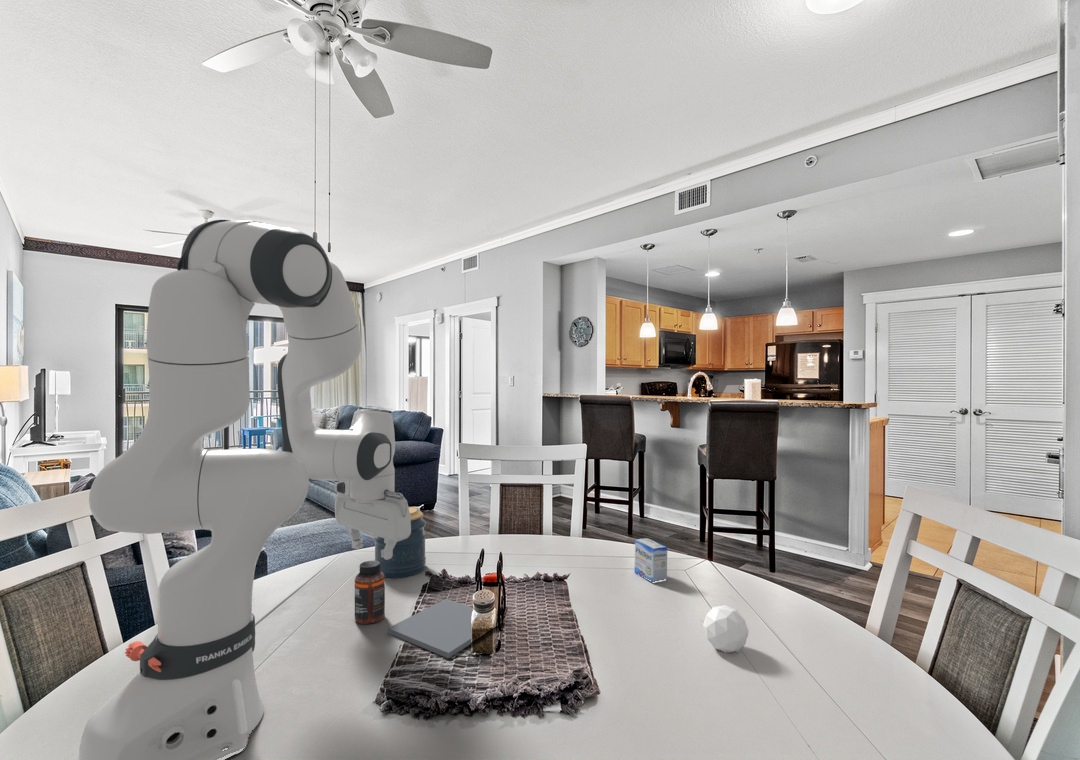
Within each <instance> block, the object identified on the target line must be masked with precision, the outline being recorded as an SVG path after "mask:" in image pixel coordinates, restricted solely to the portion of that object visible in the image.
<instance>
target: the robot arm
mask: <svg viewBox="0 0 1080 760" xmlns="http://www.w3.org/2000/svg"><path fill="white" fill-rule="evenodd" d="M177 261H178V262H177V263H176V270H175V271H171V272H169V273H166V274H164V275H162V276H161V277H159V278H158V279H157V280H156V281H155V282H154V284H153V285H152V288H151V291H150V297H149V302H148V303H149V305H148V311H147V323H146V348H147V349H146V352H147V364H148V365H147V367H148V381H149V385H148V386H149V391H148V392H149V393H148V394H149V398H148V413H147V418H146V421H145V424H144V427H143V429H142V431H141V433H140V434H139V436H138V437H137V439H136V440H135V442H134V443H133V444H132V445H131V446H130V447H129V448H127V450H126V451H124V452H123V453H122V454H119V456H118V457H115V458H114V459H113V460H111V461H110V462H109V463H107V464H106V465H105V466H104V467H102V469H101V470H100V471H99V472H98V474H96V476H95V478H94V480H93V482H92V484H91V487H90V491H89V494H88V495H89V496H88V503H89V508H90V511H91V515H92V516H93V518H94V520H95V521H96V522H97V524H99V526H101V527H102V528H103V529H104V530H106V531H109V532H116V533H117V532H120V533H126V534H127V533H129V534H142V535H154V534H164V533H166V534H167V533H175V532H185V531H197V530H206V531H210V532H211V540H210V543H208V545H206V546H204V547H202V548H201V549H198V550H196V551H194V552H193V553H191V554H189V555H187V556H185V557H183V558H182V559H180V560H178V561H177V562H176V563H175V564H173V565H172V566H170V568H169V569H167V570H166V572H165V573H164V574H163V576H162V577H161V580H160V582H159V585H158V589H157V590H158V595H157V598H158V599H157V602H158V603H157V634H156V635H155V636H154V638H153V640H152V641H151V642H150V644H148V645H146V644H144V643H143V642H142V641H140V640H138V641H137V640H136V641H133V642H131V643H129V644H128V645H127V647H126V648H125V652H124V654H125V656H126V657H127V658H129V659H130V660H131V661H133V662H139V670H138V671H137V672H136V673H135V674H134V675H133V676H132V677H131V678H130V679H129V680H128V681H126V682H125V683H124V684H123V685H122V687H120V689H118V690H117V691H116V692H115V693H114V694H113V695H112V696H110V698H109V699H107V700H106V701H105V702H104V703H103V704H102V705H101V706H100V707H98V708H97V709H96V710H95V711H94V712H93V713H92V715H90V717H89V718H88V720H87V722H86V724H85V726H84V729H83V732H82V735H81V738H80V744H79V748H78V751H79V753H78V760H217V759H219V758H222V757H224V756H226V755H228V754H230V753H233V752H236V751H239V750H240V749H242V748H244V747H245V745H246V743H247V741H248V742H249V739H248V737H250V735H251V733H253V731H254V730H255V729H256V727H257V726H258V725H259V723H260V721H261V720H262V718H263V715H264V711H265V709H264V705H263V702H262V699H261V697H260V696H261V695H260V692H259V689H258V685H257V679H256V673H255V672H256V671H255V664H254V655H253V652H254V651H255V646H256V620H255V619H256V616H255V615H254V613H253V612H252V611H253V608H252V607H253V591H254V590H253V589H254V580H255V571H256V565H257V562H258V560H259V556H260V555H261V552H262V550H263V548H264V546H265V545H266V543H267V541H268V540H269V538H270V537H271V536H272V535H273V533H274V532H275V531H276V530H277V529H278V528H279V527H280V526H281V525H282V524H283V523H285V522H286V521H287V520H289V519H290V518H291V517H292V516H294V515H295V514H296V513H297V512H298V511H299V510H300V508H301V507H302V505H303V504H304V503H305V500H306V498H307V495H308V492H309V487H310V486H309V485H310V482H316V481H317V482H318V481H330V482H331V481H332V482H333V481H334V482H335V481H336V482H335V483H334V492H335V493H336V494H335V496H334V497H335V498H334V517H335V521H336V522H337V524H338V525H340V526H343V527H347V533H348V535H349V538H350V541H351V548H352V549H354V550H357V551H358V550H360V549H362V548H363V547H364V538H363V539H362V538H361V533H360V532H363V533H366V534H369V535H372V536H375V537H376V536H378V537H382V538H384V543H386V546H385V548H384V549H383V550H381V558H383V559H386V560H388V559H390V558H392V556H393V548H394V546H395V545H396V543H397V542H398V541H401V540H404V539H407V538H408V537H409V536H410V534H411V520H410V511H409V507H410V506H409V504H408V503H409V502H408V499H406V498H405V496H404V495H403V493H401V492H395V486H396V485H395V473H396V472H395V471H396V469H395V466H394V455H395V453H396V439H395V435H396V434H395V426H394V424H395V423H394V419H393V414H392V413H390V412H389V411H387V410H384V409H373V408H361V409H357V410H355V411H354V412H353V415H352V420H351V427H349V428H348V429H330V428H328V429H326V428H320V427H318V426H317V425H315V423H313V413H312V412H313V411H312V400H311V389H312V387H314V386H317V385H319V384H323V383H325V382H327V381H328V382H329V381H331V380H334V379H335V378H337V377H339V376H340V375H343V374H344V373H346V371H348V370H349V369H350V368H351V367H353V365H354V364H355V363H356V362H357V360H358V358H359V357H360V354H361V350H362V337H361V331H360V326H359V321H358V317H357V313H356V312H357V311H356V308H355V305H354V301H353V298H352V295H351V292H350V289H349V286H348V285H347V281H346V279H345V277H344V274H343V273H342V270H341V269H340V268H339V267H338V266H337V265H336V264H334V263H333V262H332V261H330V260H329V257H328V254H327V253H326V251H325V249H324V248H323V247H322V245H321V244H320V243H319V242H318V241H317V240H316V239H315V238H314V237H312V236H311V235H309V234H307V233H305V232H303V231H300V230H298V229H294V228H292V227H285V226H283V227H282V226H281V227H280V226H276V225H272V224H266V223H263V222H260V221H255V220H229V219H215V220H211V221H207V222H204V223H201V224H199V225H197V226H196V227H194V228H193V229H192V230H191V231H190V232H189V233H188V234H187V237H186V238H185V240H184V242H183V245H182V248H181V256H180V258H179V260H177ZM255 304H262V305H273V306H277V307H278V308H279V309H280V311H281V314H282V318H283V323H284V328H285V331H286V335H287V339H288V347H287V353H285V354H284V355H283V356H282V357H281V358H280V359H279V362H278V366H277V370H276V373H277V374H276V378H277V379H276V380H277V381H276V384H277V395H278V396H277V397H278V398H277V399H278V407H279V415H280V418H279V419H280V426H281V437H282V439H281V440H282V443H281V450H277V449H268V448H237V449H236V448H234V449H232V448H229V449H228V448H227V449H206V448H204V447H203V439H204V438H205V437H208V436H210V435H212V434H214V433H217V432H219V431H221V430H224V429H226V428H228V427H230V426H232V425H233V424H235V423H236V422H238V421H239V420H240V419H241V418H243V417H244V415H245V414H246V413H247V411H248V409H249V406H250V402H251V392H250V391H251V390H250V386H251V385H250V366H249V365H250V364H249V363H250V361H249V344H248V333H247V324H248V319H249V317H250V314H251V312H252V310H253V308H254V307H255ZM252 730H253V731H252ZM249 734H250V735H249ZM247 744H248V743H247ZM225 748H228V749H227V750H224V751H222V750H223V749H225Z"/></svg>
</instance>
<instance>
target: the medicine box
mask: <svg viewBox="0 0 1080 760" xmlns="http://www.w3.org/2000/svg"><path fill="white" fill-rule="evenodd" d="M633 573H637V574H639V575H641V576H643V577H645V578H647V579H649V580H651V581H652V582H655V581H659V580H664V579H667V580H668V546H665V545H663V544H661V543H659V542H657V541H654V540H652V539H650V538H639V539H635V541H634V572H633ZM637 574H636V575H637ZM639 575H638V576H639ZM641 576H640V577H641Z"/></svg>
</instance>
